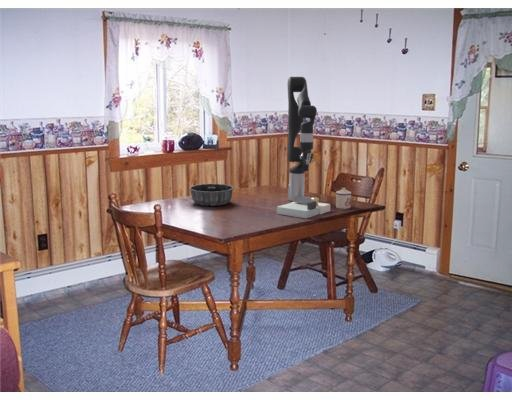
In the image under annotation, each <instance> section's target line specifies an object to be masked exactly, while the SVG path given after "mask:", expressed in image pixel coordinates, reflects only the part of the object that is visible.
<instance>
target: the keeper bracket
mask: <svg viewBox="0 0 512 400" xmlns="http://www.w3.org/2000/svg"><path fill="white" fill-rule="evenodd" d="M315 208H316V201H310V202H308V203H307V210H312V209H315Z"/></svg>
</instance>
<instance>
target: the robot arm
mask: <svg viewBox="0 0 512 400" xmlns="http://www.w3.org/2000/svg"><path fill="white" fill-rule="evenodd" d="M286 86H287V99H288V100H287V101H288V102H287V103H288V105H287V107H288V110H287V117H288V118H287V123H288V125H287V127H288V129H287V130H288V132H287V133H288V134H287V135H288V137H287V139H288V140H287V153H286V154H287V155H286V156H287V157H286V158H287V160H288V162H290V163H297V162H298V163H297V164H296V165H294V166H291V167H290V168H289V181H288V182H289V184H287V201H291V202H295V196H304V197H305V173H306V172H308V171H309V165H310V164H311V163H312V160H313V158H314V155H315V154H314V153H312V150H314V123H315V120H316V116H317V114H318V111H317V107H316V106H315V105H311V103H312V102H311V101H310V98H309V91H308V83H307V80H306V78H305V77H304V76H288V78H287V85H286ZM294 93H299V94H298V95H297V98H296V97H295V94H294ZM295 98H296V99H295ZM304 119H308V120H307V121H305V122H304ZM299 133H300V135H299ZM298 135H299V146H295V143H296V142H295V141H296V139H297V138H298V137H297V136H298Z"/></svg>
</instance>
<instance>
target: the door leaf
mask: <svg viewBox="0 0 512 400" xmlns="http://www.w3.org/2000/svg"><path fill="white" fill-rule="evenodd" d="M276 214H277V215H284V216H289V217H293V218H294V217H296V218H302V219H309V218H311V217H314V216H317V215H319V214H318V207H316V208H315V209H312V210H307V206H306V205H299V204H292V202H288V203H286V204H282V205H278V206H276Z"/></svg>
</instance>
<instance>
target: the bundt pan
mask: <svg viewBox="0 0 512 400" xmlns="http://www.w3.org/2000/svg"><path fill="white" fill-rule="evenodd" d="M234 188H235V187H234V186H233V185H229V184H223V183H221V184H220V183H201V184H195V185H192V186H190V187H189V190H190V194H191V200H192V201H193V203H195V204H196V205H199V206H205V207H208V206H211V207H215V206H217V207H218V206H219V207H220V206H223V205H228V204H229V203H230V202H231V200H232V196H233V190H234Z"/></svg>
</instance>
